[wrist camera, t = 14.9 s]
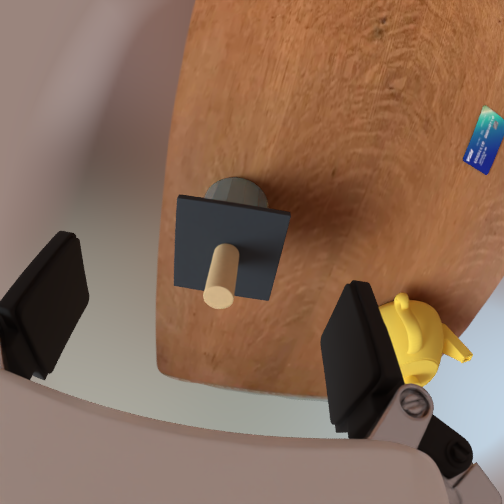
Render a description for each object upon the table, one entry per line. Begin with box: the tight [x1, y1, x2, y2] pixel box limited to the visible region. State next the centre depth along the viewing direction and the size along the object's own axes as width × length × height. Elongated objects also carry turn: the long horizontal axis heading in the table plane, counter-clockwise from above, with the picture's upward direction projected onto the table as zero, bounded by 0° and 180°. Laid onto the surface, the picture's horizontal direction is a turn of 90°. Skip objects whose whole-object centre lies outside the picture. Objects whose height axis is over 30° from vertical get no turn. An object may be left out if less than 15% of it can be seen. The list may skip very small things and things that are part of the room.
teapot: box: [379, 293, 473, 387], centre depth 42 cm, size 20×19×13 cm
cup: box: [203, 177, 269, 208], centre depth 34 cm, size 8×8×9 cm
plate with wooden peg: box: [174, 195, 291, 309], centre depth 27 cm, size 10×10×7 cm
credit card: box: [463, 105, 504, 175], centre depth 30 cm, size 8×5×1 cm, turn 165°
